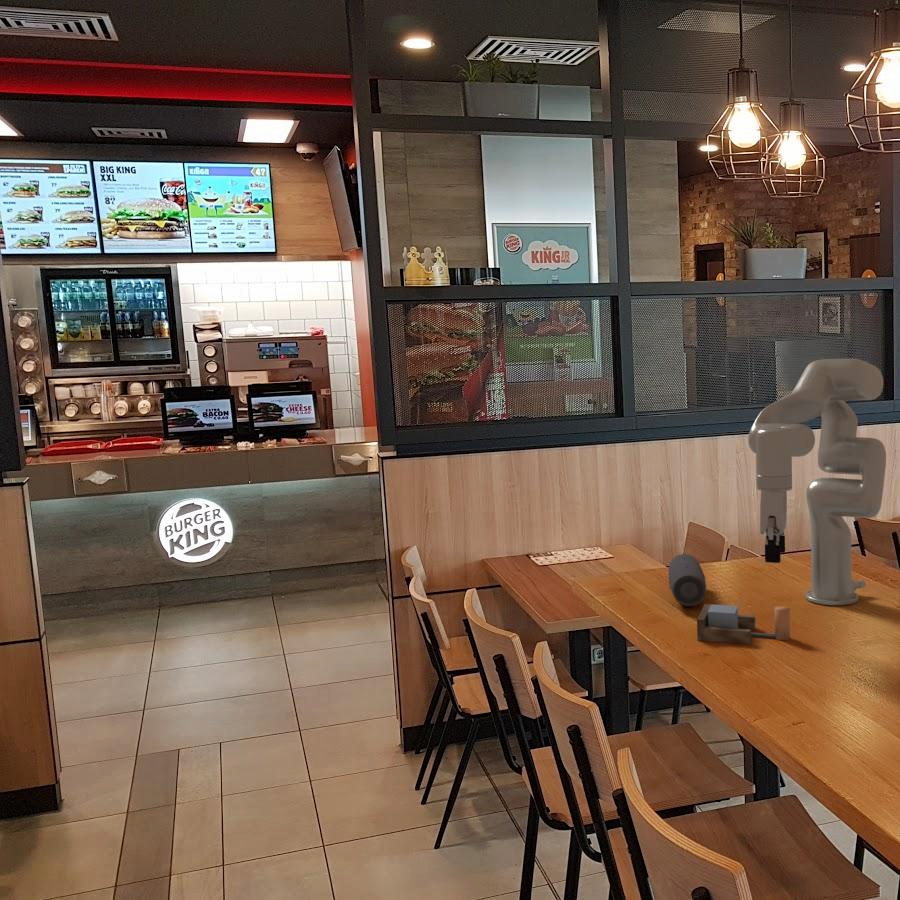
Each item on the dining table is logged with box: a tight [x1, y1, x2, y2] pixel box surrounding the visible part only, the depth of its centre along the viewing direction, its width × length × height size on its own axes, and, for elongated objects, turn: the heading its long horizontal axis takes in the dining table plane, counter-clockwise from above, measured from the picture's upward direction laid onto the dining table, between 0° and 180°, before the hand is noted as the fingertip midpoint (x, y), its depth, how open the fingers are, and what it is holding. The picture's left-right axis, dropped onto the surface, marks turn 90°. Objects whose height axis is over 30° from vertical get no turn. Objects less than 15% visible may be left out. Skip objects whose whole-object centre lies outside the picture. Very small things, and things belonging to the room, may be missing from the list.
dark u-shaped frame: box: [696, 603, 756, 645], centre depth 207 cm, size 12×12×5 cm
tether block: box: [708, 604, 791, 641], centre depth 205 cm, size 18×6×7 cm, turn 66°
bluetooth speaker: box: [668, 553, 707, 607], centre depth 237 cm, size 23×9×10 cm, turn 168°
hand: (775, 557), depth 201 cm, fingers open, 9 cm apart
